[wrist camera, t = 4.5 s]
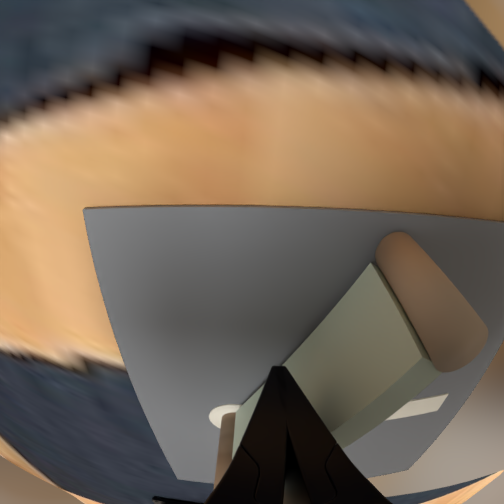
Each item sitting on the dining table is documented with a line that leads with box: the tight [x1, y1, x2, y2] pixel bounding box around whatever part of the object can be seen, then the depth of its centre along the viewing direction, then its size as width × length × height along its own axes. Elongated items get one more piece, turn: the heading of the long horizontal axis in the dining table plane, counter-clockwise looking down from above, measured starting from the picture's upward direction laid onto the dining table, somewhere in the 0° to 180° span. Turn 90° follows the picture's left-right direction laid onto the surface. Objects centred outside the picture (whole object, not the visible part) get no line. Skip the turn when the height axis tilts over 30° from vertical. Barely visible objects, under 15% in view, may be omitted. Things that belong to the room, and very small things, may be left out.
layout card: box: [83, 205, 504, 483], centre depth 15 cm, size 24×21×1 cm
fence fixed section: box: [214, 412, 236, 489], centre depth 16 cm, size 13×2×6 cm, turn 0°
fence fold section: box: [232, 232, 488, 459], centre depth 10 cm, size 12×2×5 cm, turn 151°
